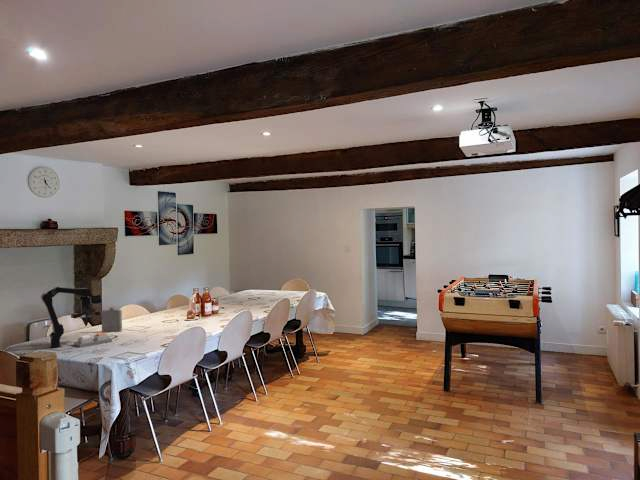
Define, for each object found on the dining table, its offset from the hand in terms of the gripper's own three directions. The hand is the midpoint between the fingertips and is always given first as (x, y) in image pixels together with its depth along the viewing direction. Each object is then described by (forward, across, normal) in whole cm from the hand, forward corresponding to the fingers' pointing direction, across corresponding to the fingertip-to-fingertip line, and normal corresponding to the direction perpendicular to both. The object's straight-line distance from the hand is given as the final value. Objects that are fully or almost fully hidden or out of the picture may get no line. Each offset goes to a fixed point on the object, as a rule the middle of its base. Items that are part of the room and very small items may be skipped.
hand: (86, 325), depth 332 cm
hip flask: (+12, +28, +22) cm, 38 cm away
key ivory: (+9, -3, -8) cm, 12 cm away
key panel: (+12, +2, -8) cm, 15 cm away
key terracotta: (+9, +7, -8) cm, 14 cm away
